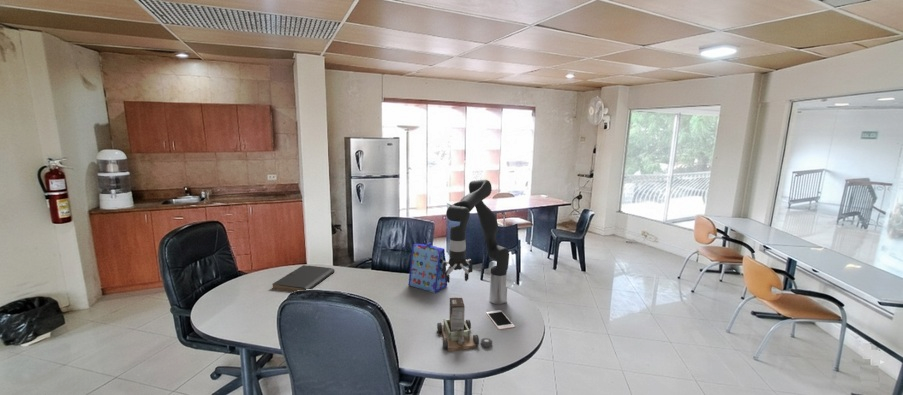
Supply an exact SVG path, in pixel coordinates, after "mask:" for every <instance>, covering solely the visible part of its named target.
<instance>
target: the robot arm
mask: <svg viewBox="0 0 903 395" xmlns="http://www.w3.org/2000/svg"><path fill="white" fill-rule="evenodd" d="M492 189H493V188H492V183H491V181H490V180H488V179H478V180H477V179H476V180H472V181H470V182H469V184H468V190H469V193H468V194H466V195H464V197H462V198H461V199H460V200H459V201H456V202H454V203H452V204H450V206H448V208H447V209H446V213H445V216H446V219H448V220H449V221H451V222H458V223H459V225H453V226H451V227H450V229H449V233H450V234H449V248H448V249H449V250H448V251H449V259H448V260H446V261H444V260H443V262H442V273H443V274H445V275H446V281H447V284H450V277H451V276H450V274H451V273H452V272H453V271H457V270H459V271H460V270H463V271H464V281H465V282H468V280H469V276H470V275H469V274H470V273H473V260H472V259H471V258H468V259H466V256H467V255H466V253H467V252H466V251H467V250H466V248H467V247H466V246H467V244H466V230H467V225H468V222H469V219H470V216H471V215H470V214H471V211H472V210H473V209H474V208H475V210H476V214H477V216H478V220H479V223H480V228H481V230H482V232H483V237H484V239H485V244H486V250H487V255H488V257H489V259H490V260H492V261H494V262H496V265H494V266H491V267H490V280H489V302H490V303H492V304H494V305H503V304H505V303H507V300H508V286H507V274H508V273H507V272H508V269H509V263H510V251H509V249H508V248H507V247H504V246H501V245H500V244H498V241H497V238H496V237H497V233H498V230H499V223H498V220H497V217H496V214H495V213H494V211H493V210H491V209H490V208H489V206H487V205H486V204H485V203H484V200H485V199H486V198H488V197H489V196H490V195H491V194H492ZM466 264H467V265H468V269H467V268H466V267H465V265H466ZM448 265H449V266H448Z"/></svg>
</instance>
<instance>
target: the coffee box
mask: <svg viewBox="0 0 903 395" xmlns="http://www.w3.org/2000/svg"><path fill="white" fill-rule="evenodd" d="M465 307H466V306H465V302H464V299H463V297H449V319H450V324H449V325H450V331H451V332H454V331H464V320H465Z"/></svg>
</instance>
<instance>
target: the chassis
mask: <svg viewBox="0 0 903 395" xmlns="http://www.w3.org/2000/svg"><path fill="white" fill-rule="evenodd" d="M449 324H450V318H444V319H443V324H442V322H437V325H436V326H437V327H436V330H437V333H441V335H442V348H443V349H444V350H445V349H447V351H448V352H452V351H453V352H455V351H462V350H471V349H472V350H473V349H476V348H477V346H478V345H480V339H479V338H480V337H479V335H478V334H473V336H472V334H471V330H470V329H471V328H472V324H471V320H470V319H466V320H465V319H464V331H454V332H451V331H450V325H449Z"/></svg>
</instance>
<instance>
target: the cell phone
mask: <svg viewBox="0 0 903 395" xmlns="http://www.w3.org/2000/svg"><path fill="white" fill-rule="evenodd" d="M485 314H486V315H487V317H488V318H489V319H490V320H491V321H492V323H493V324H494V326H496V328H497V330H500V331H501V330H507V329H514V328H516V326H515V325H514V324H513V322H512V321H511V320H510V318H509V317H507V315H506V314H505V313H504V312H503V311H502V310H501V309H500V310H492V311H486V312H485Z"/></svg>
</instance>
